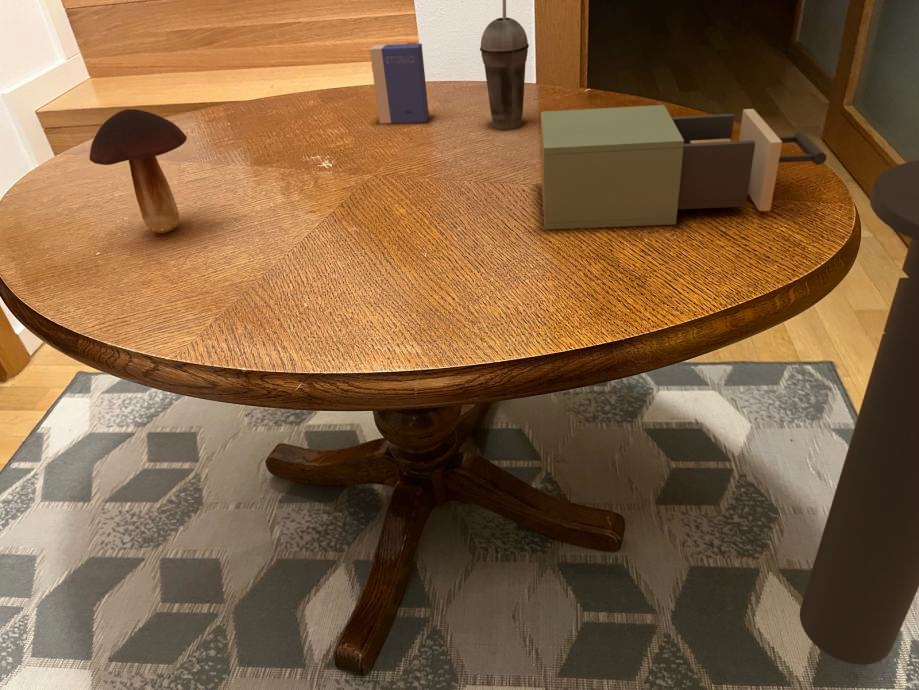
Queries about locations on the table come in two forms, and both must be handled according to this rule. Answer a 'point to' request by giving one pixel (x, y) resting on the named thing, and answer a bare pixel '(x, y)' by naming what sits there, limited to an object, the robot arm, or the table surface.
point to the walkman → (400, 83)
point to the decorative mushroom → (142, 160)
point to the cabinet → (610, 167)
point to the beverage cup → (505, 69)
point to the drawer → (734, 161)
